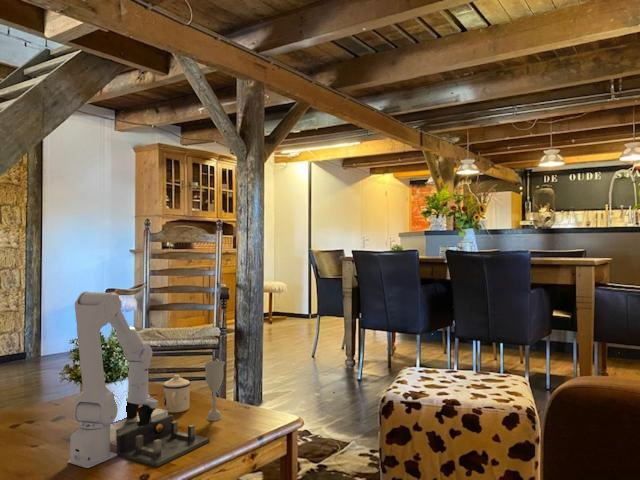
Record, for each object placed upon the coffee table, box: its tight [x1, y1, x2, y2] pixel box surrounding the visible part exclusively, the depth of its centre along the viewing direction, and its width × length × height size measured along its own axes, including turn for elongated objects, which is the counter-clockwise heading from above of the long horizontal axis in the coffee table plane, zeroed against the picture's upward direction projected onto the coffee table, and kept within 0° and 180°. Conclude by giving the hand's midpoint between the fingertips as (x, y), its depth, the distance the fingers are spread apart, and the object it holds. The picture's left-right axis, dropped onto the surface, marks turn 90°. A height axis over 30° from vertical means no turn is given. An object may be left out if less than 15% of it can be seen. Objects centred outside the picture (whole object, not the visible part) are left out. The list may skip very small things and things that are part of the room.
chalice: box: [203, 360, 226, 422], centre depth 174 cm, size 7×7×18 cm
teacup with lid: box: [162, 374, 191, 413], centre depth 182 cm, size 12×9×12 cm
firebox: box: [116, 414, 210, 468], centre depth 148 cm, size 20×15×6 cm
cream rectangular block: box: [110, 408, 169, 446], centre depth 160 cm, size 20×4×4 cm, turn 151°
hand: (138, 428), depth 160 cm, fingers closed on cream rectangular block, 4 cm apart
